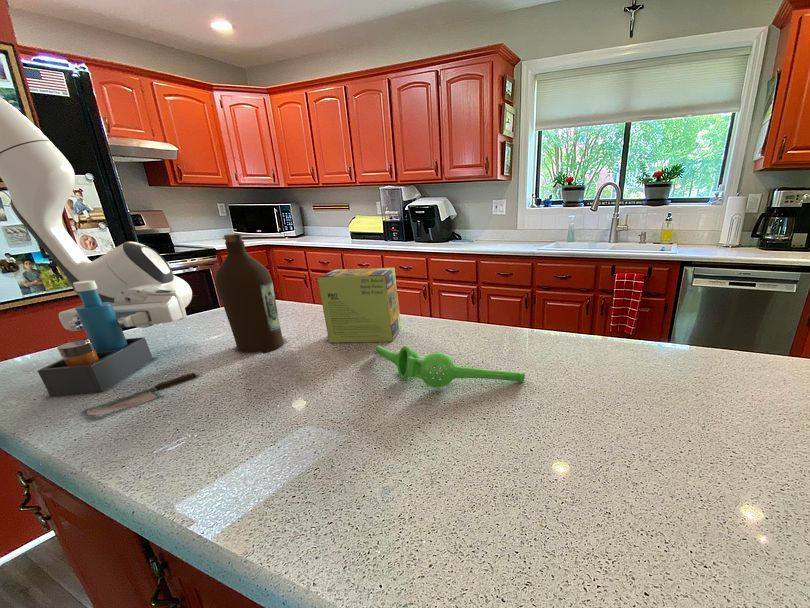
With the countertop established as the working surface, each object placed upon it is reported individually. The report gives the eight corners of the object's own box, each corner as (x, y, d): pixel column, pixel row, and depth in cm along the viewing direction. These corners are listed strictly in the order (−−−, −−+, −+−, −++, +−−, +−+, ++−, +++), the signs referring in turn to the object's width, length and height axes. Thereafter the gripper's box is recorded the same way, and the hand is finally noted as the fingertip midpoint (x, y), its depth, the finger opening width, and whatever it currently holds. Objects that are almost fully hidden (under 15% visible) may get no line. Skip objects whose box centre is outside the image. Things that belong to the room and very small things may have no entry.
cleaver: (92, 418, 61) (82, 409, 64) (95, 424, 62) (85, 415, 64) (204, 377, 73) (192, 371, 76) (206, 382, 74) (194, 376, 76)
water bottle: (103, 375, 77) (64, 286, 70) (102, 367, 81) (64, 282, 74) (136, 367, 80) (102, 281, 74) (134, 360, 84) (101, 278, 77)
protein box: (393, 341, 92) (385, 275, 86) (328, 343, 93) (315, 277, 87) (402, 328, 102) (395, 267, 96) (343, 329, 102) (332, 268, 96)
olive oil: (228, 358, 86) (192, 238, 76) (244, 342, 95) (214, 233, 86) (280, 352, 88) (252, 235, 78) (290, 337, 97) (267, 231, 88)
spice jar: (76, 392, 71) (56, 350, 68) (76, 384, 74) (57, 344, 71) (109, 383, 74) (92, 343, 71) (108, 376, 77) (91, 338, 74)
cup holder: (154, 361, 85) (145, 337, 83) (103, 394, 71) (90, 366, 69) (111, 365, 84) (101, 340, 82) (51, 399, 70) (36, 370, 68)
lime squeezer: (525, 379, 71) (525, 346, 69) (497, 409, 62) (497, 372, 59) (380, 353, 86) (376, 325, 83) (339, 374, 76) (334, 343, 74)
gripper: (83, 296, 86) (27, 313, 73) (185, 290, 89) (149, 305, 76) (95, 324, 88) (43, 345, 76) (194, 317, 91) (160, 336, 79)
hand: (97, 325), depth 76 cm, fingers open, 7 cm apart
